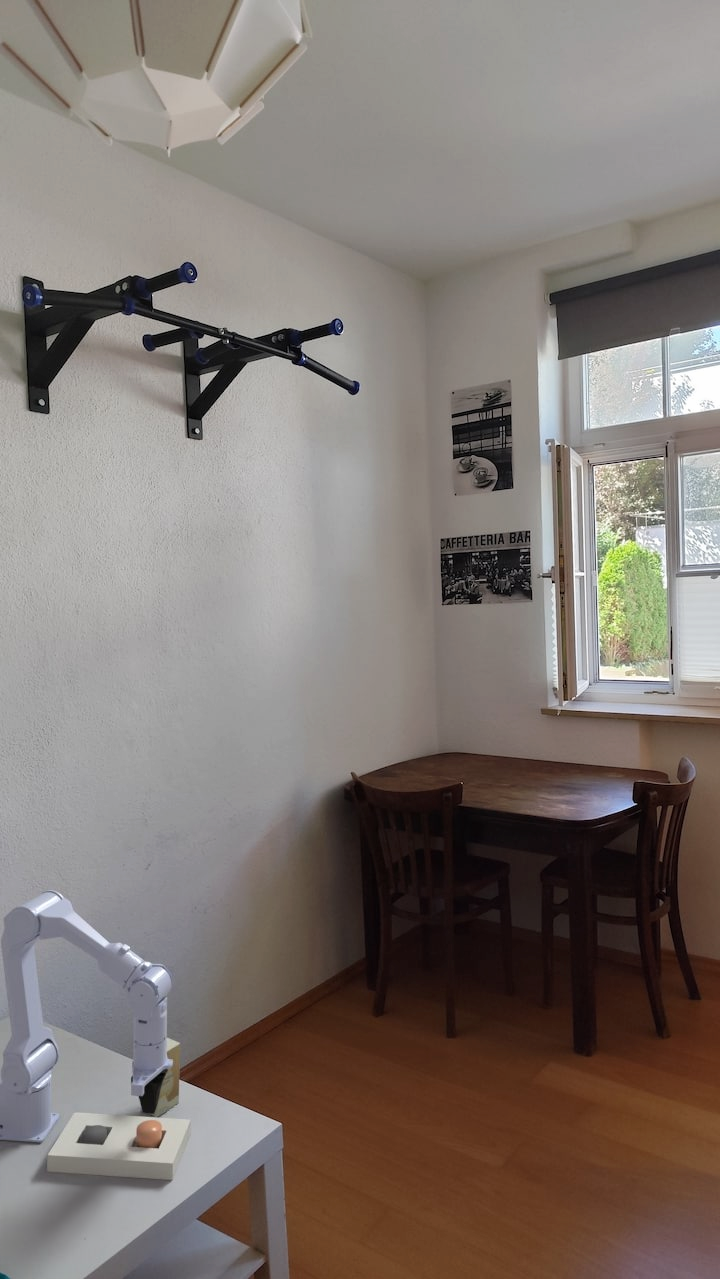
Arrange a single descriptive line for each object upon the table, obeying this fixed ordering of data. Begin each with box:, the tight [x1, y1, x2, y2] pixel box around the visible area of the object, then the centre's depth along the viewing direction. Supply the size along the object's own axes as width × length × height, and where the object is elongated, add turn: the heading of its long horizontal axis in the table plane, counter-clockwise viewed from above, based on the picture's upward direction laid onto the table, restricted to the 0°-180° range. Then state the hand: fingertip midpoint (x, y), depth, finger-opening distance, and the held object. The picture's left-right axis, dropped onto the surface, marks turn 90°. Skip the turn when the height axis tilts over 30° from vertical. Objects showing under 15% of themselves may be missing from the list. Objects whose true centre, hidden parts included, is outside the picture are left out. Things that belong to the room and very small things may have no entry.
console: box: [46, 1111, 192, 1181], centre depth 153 cm, size 22×12×3 cm, turn 87°
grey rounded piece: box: [81, 1125, 107, 1145], centre depth 153 cm, size 4×4×3 cm
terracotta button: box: [136, 1120, 162, 1149], centre depth 153 cm, size 4×4×3 cm
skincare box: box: [147, 1037, 181, 1118], centre depth 167 cm, size 6×4×12 cm
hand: (149, 1111), depth 152 cm, fingers closed
